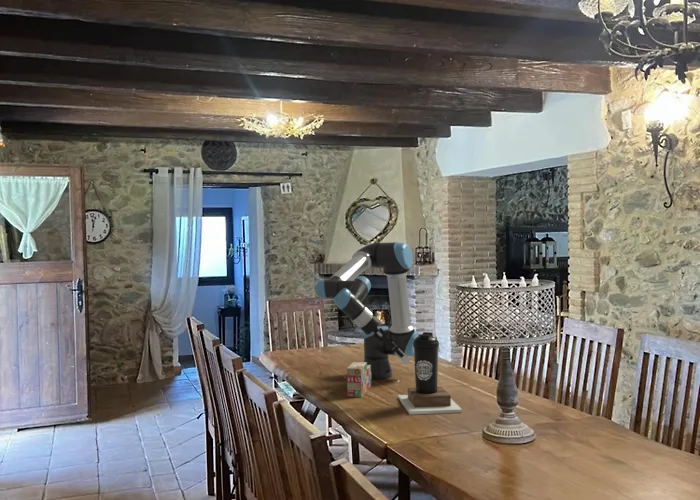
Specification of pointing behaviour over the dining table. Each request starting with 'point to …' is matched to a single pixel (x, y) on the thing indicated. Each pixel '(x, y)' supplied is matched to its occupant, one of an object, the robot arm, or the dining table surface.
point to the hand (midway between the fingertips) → (405, 358)
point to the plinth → (429, 398)
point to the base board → (428, 410)
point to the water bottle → (426, 363)
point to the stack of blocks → (358, 379)
